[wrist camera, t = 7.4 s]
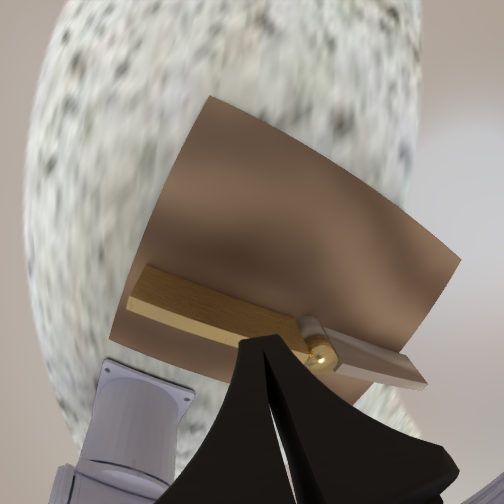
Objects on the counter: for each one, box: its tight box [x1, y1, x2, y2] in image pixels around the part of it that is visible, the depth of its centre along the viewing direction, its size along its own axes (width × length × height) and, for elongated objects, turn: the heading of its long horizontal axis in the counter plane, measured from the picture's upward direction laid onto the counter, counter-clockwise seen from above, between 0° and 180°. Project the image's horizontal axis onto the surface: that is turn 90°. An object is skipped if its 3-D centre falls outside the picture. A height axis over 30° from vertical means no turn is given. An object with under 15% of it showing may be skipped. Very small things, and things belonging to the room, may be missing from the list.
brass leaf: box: [126, 265, 338, 375], centre depth 16 cm, size 12×2×4 cm, turn 65°
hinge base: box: [109, 96, 461, 405], centre depth 18 cm, size 17×23×5 cm
